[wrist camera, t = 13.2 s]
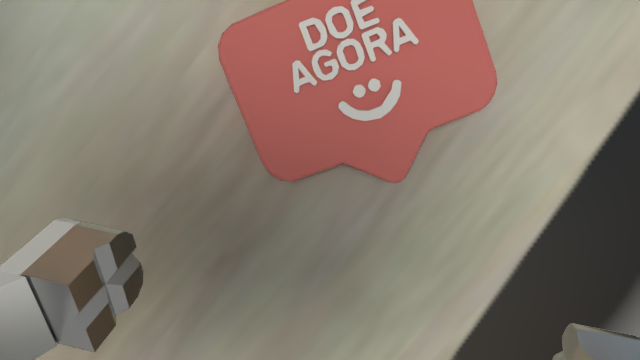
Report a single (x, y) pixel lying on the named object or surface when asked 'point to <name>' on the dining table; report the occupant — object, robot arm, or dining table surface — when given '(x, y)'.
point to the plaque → (355, 80)
